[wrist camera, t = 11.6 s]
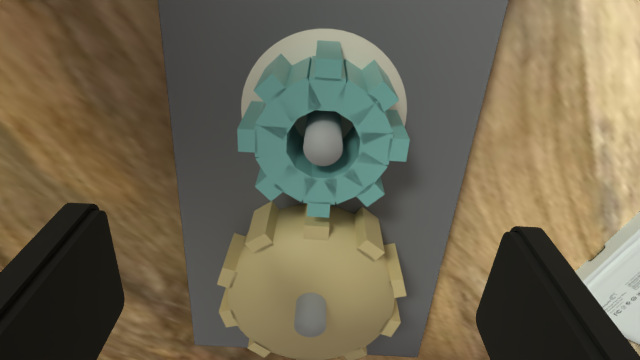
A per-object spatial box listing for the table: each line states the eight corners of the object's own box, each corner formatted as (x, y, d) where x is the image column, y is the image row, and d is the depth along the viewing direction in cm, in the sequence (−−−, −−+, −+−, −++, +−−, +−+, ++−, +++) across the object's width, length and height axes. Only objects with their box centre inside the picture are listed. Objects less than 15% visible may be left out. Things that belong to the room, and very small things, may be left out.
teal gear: (249, 35, 19) (234, 53, 16) (406, 45, 19) (422, 65, 16) (252, 175, 22) (240, 212, 19) (385, 182, 22) (395, 221, 19)
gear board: (162, -68, 19) (97, -75, 13) (505, -43, 19) (575, -39, 14) (200, 327, 30) (173, 408, 25) (413, 339, 30) (431, 422, 25)
